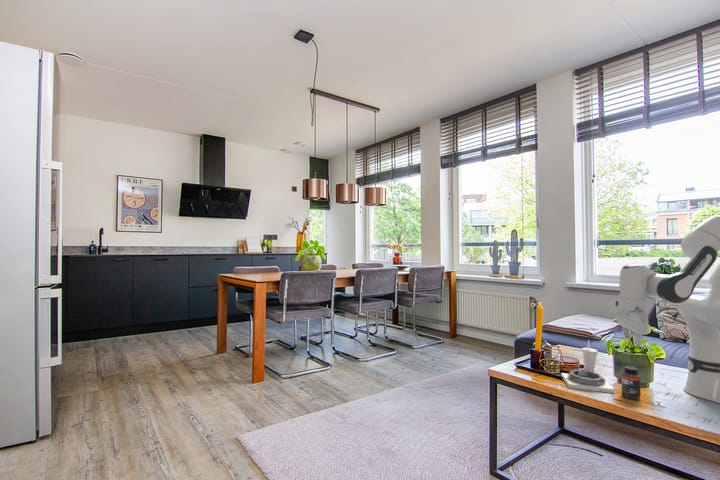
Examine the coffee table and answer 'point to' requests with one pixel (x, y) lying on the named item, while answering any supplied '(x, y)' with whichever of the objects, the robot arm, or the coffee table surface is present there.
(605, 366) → the coffee table surface
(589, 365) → the smoothie
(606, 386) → the socket plate
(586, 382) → the ring
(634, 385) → the supplement bottle
